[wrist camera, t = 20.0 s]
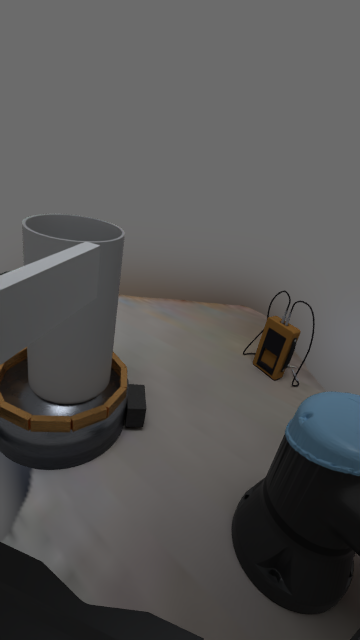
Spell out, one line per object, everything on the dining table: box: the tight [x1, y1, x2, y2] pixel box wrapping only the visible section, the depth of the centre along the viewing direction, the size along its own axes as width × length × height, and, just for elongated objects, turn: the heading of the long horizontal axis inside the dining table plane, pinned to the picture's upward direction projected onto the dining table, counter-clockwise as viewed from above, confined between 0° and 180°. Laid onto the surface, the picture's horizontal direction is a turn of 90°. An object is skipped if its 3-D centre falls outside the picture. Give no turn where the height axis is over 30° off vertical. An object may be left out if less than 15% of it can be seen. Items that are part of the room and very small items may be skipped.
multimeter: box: [243, 291, 314, 386], centre depth 78 cm, size 15×10×20 cm
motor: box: [0, 347, 146, 470], centre depth 56 cm, size 24×21×9 cm
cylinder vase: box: [22, 214, 125, 404], centre depth 49 cm, size 12×12×25 cm
